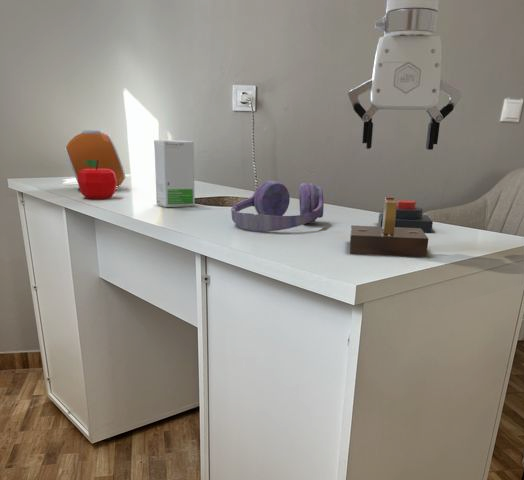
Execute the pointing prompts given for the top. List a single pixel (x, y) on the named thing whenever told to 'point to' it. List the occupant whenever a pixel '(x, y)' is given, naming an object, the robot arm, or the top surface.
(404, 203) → the bell button
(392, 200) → the lock knob
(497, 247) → the top surface
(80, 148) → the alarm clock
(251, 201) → the headphones
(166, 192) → the cosmetic box
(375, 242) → the plate
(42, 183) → the top surface
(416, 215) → the block
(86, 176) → the apple
